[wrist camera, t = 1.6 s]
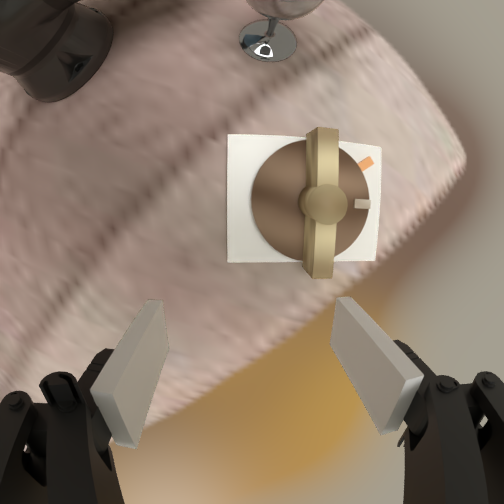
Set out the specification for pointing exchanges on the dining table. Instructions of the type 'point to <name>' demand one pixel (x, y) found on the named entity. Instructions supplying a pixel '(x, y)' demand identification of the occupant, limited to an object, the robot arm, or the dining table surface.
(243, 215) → the base plate
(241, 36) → the wine glass
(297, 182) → the capstan dial
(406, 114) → the dining table surface
